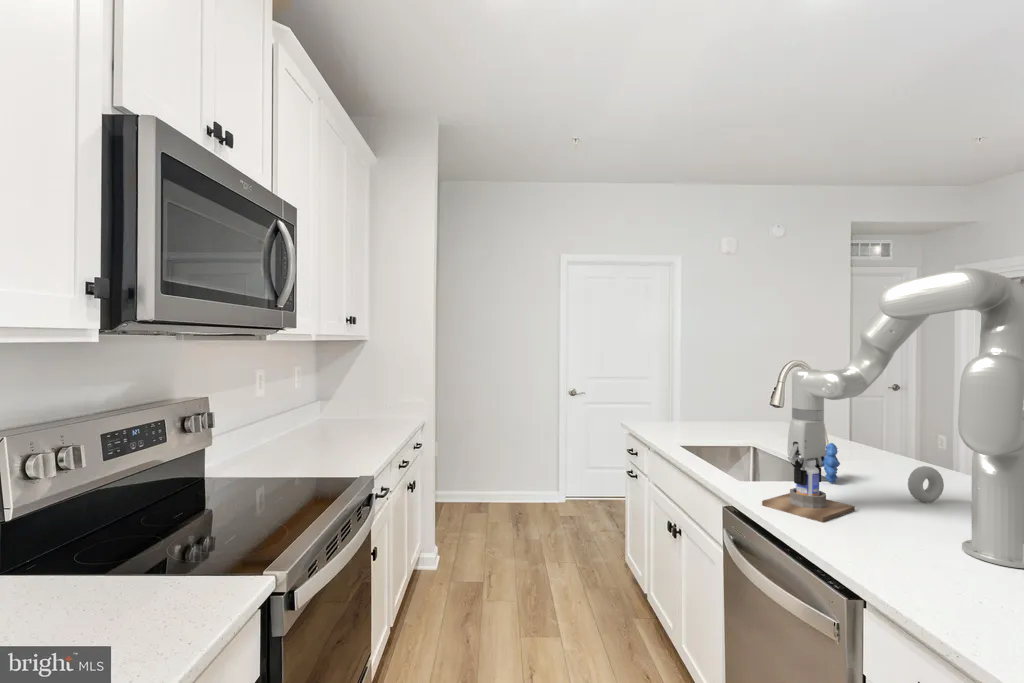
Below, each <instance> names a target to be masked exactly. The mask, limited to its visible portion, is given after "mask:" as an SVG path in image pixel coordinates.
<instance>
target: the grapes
mask: <svg viewBox="0 0 1024 683" xmlns="http://www.w3.org/2000/svg"><path fill="white" fill-rule="evenodd" d="M838 449H839V448H838V446H837V445H835V443H833V442H830V443H828V444H826V449H825V450H826V451H827V454H826V456H825V457H824V460H823V462H822V464H823V466H822V467H821V468H823V470H824V472H825V473H826V474H825V476H824V478H825V480H827V482H829V483H832V484H833V483H835V482H836V481H837V480H838V476H837V473H838V467H839V466H840V465H841V462H840V460H839V459H838V457H837V454H838V452H839V451H838Z"/></svg>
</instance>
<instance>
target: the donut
mask: <svg viewBox="0 0 1024 683" xmlns="http://www.w3.org/2000/svg"><path fill="white" fill-rule="evenodd" d="M907 479H908V480H907V488H908V491H909V493H910V495H911V496H912V497H913V498H914V499H915V500H917V501H919V502H921V503H926V502H929V503H933V502H935V501H937V500H938V499H939V498H940V497H941V495H942V494H943V491H944V487H945V486H944V484H945V483H944V479H943V476H942V474H941V473H940V472H939V471H938V470H937V469H935V468H934V467H932V466H926V465H923V466H919V467H916V468H915V469H914V470H913V471H912V472H910V475H909V476H908V478H907ZM926 480H927V482H928V483H927V484H928V485H927V487H926V489H924V482H925V481H926Z"/></svg>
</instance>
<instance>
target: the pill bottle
mask: <svg viewBox="0 0 1024 683" xmlns="http://www.w3.org/2000/svg"><path fill="white" fill-rule="evenodd" d="M798 461H799V462H800V463H802V460H798ZM815 465H816V460H815V458H814V459H807V462H806V466H805V470H806V471H807V485H805V486H803V485H800V484H796V483H795V488H796V493H797V494H801V495H806V496H819V491H820V482H819V469H818V468H816V467H815Z"/></svg>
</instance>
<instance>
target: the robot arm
mask: <svg viewBox="0 0 1024 683" xmlns="http://www.w3.org/2000/svg"><path fill="white" fill-rule="evenodd" d="M878 306H879V310H878V311H877V312H876V313H875V314H874V316H873V317H872V318H871V319H870V320H869V322H867V323H866V325H865V326H864V327H863V328H862V329H861V331H860V333H859V335H860V336H859V338H860V347H859V349H858V351H857V353H856V354H855V355H854V357H853V358H852V359H851V360H850V361H849V362H848V363H847V364H846V365H845V367H844V368H841V369H831V370H820V369H817V368H812V369H811V368H798V369H795V370H793V372H792V374H791V420H790V423H789V426H788V427H789V428H788V435H787V436H788V437H787V459H788V461H789V462H790V463H791V465H792V469H793V482H794V484H795V485H796V484H800V485H803V486H805V485H807V471H806V470H805V466H806V462H807V459H815V460H816V465H815V467H816V468H818V469H819V483H822V468H823V467H822V466H823V464H822V462H823V460H824V457H825V456H826V454H827V451H826V446H827V444H826V429H825V400H832V401H837V400H838V401H839V400H845V399H851V398H855V397H858V396H860V395H862V394H863V393H864V392H865V391H867V390H868V388H869V387H870V386H872V384H873V383H875V381H876V380H877V379H879V377H880V376H881V375H882V374H883V372H884V371H885V369H886V368H887V367H888V365H889V364H890V362H891V361H892V358H893V357H894V355H895V353H896V351H897V350H899V348H900V347H902V346H903V344H905V342H906V341H907V340H908V339H909V338H910V337H911V336H912V335H913V333H915V331H916V330H917V329H918V328H919V327H920V326H921V325H922V324H923V323H924V322H925V321H926V320H928V318H929V317H930V315H937V314H944V313H949V312H956V311H965V310H966V311H976V312H978V313H980V314H981V318H982V321H981V327H980V332H979V348H978V349H979V352H978V355H977V356H976V357H973V358H972V359H971V360H970V361H968V363H966V364H965V366H964V368H963V370H962V373H961V376H960V386H959V401H958V415H957V416H958V417H957V428H958V430H957V431H958V435H959V437H960V439H961V441H962V442H963V443H964V445H965V446H966V447H967V448H969V450H972V460H971V539H967V540H964V541H963V542H962V543H961V549H962V551H964V552H965V553H966V554H968V555H969V556H971V557H973V558H976V559H978V560H982V561H984V562H987V563H990V564H995V565H999V566H1004V567H1009V568H1015V569H1024V286H1023V285H1022V284H1020V283H1019V282H1017V281H1016V280H1015V279H1012V278H1009V277H1008V276H1004V275H1002V274H999V273H995V272H992V271H989V270H983V269H978V268H969V267H966V268H958V269H951V270H946V271H941V272H938V273H933V274H929V275H924V276H918V277H915V278H910V279H905V280H904V279H903V280H900V281H896V282H893V283H891V284H889V285H888V286H886V287H885V288H884V289H883V290H882V292H881V293H880V294H879V298H878ZM799 460H802V463H800V462H799Z"/></svg>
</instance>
